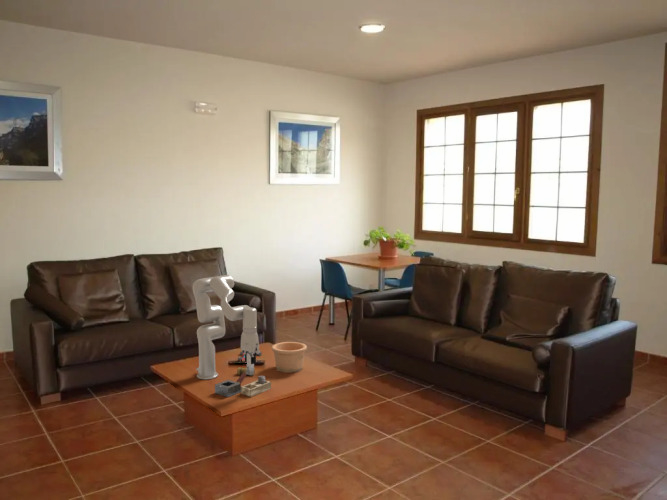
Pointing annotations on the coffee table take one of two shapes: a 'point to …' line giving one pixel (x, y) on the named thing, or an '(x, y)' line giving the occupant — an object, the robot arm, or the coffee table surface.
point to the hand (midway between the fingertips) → (250, 362)
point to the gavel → (243, 372)
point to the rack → (256, 387)
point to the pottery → (289, 356)
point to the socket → (227, 388)
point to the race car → (244, 355)
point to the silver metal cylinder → (249, 364)
